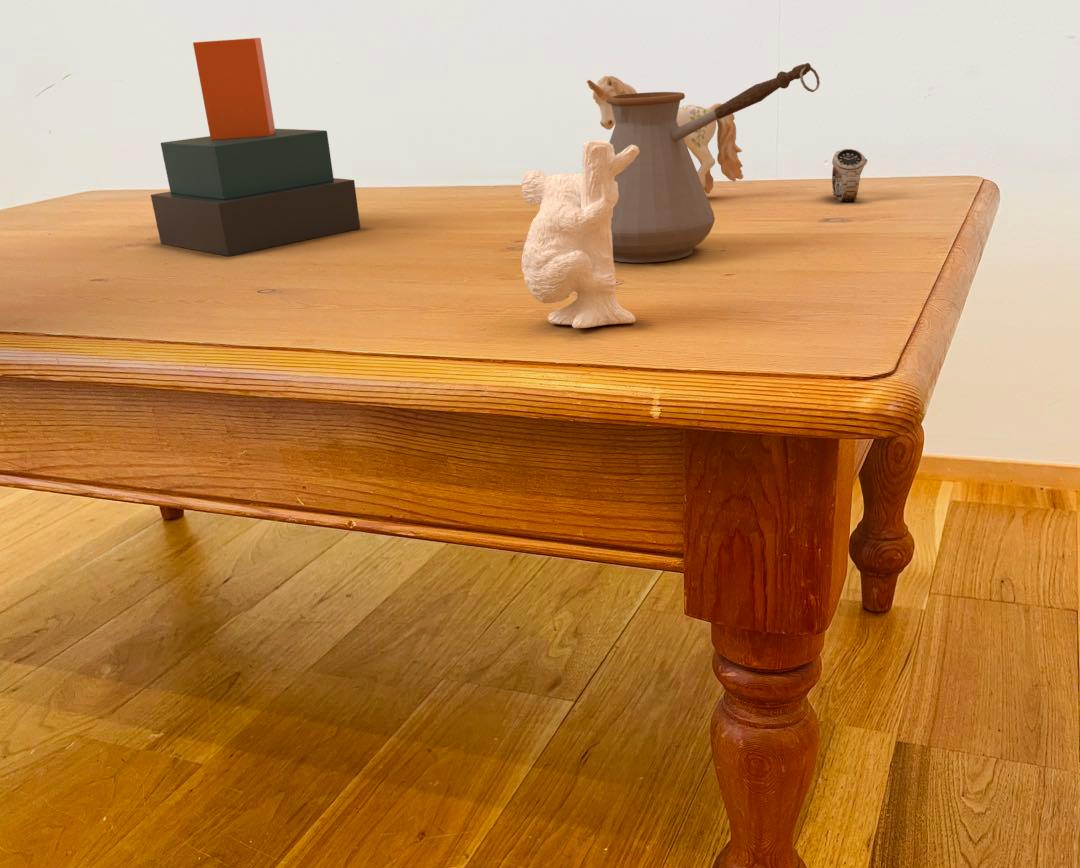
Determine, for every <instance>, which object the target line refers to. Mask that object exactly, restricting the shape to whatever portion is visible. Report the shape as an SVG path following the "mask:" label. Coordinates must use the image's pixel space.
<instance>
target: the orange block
mask: <svg viewBox="0 0 1080 868" xmlns="http://www.w3.org/2000/svg"><path fill="white" fill-rule="evenodd" d="M192 46H193V50H194V51H193V52H194V56H195V61H196V66H197V72H198V78H199V82H200V83H199V84H200V89H201V93H202V94H201V95H202V100H203V106H204V111H205V116H206V122H207V127H208V132H209V136H210V138H211V140H223V139H237V138H250V137H264V136H271V135H273V134H274V133H275V129H276V127H275V121H274V115H273V109H272V102H271V101H272V100H271V95H270V89H269V83H268V76H267V71H266V70H267V69H266V64H265V58H264V52H263V45H262V38H261V37H252V38H250V37H249V38H237V39H223V40H221V39H220V40H208V41H195V42H194V41H193V42H192Z"/></svg>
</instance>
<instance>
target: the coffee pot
mask: <svg viewBox="0 0 1080 868" xmlns="http://www.w3.org/2000/svg"><path fill="white" fill-rule="evenodd" d="M809 72H812V73H813V74H814V77H815V78H816V85H815V88H814V89H812V88H810V87H809V86H808V85H807V84H806V83H805V81H804V76H805V75H807V74H808V73H809ZM799 79H800V83H801V84H802V87H803V88H804V89H805V90H806V91H807V92H811V93H815V92H816V91H817V90H819V87H820V84H821V83H820V76H819V74H818V72H817V71H816V70H815V69H814V68H813V66H812V65H811V64H810V63H809V62H806V63H804V64H803V63H802V64H798V65H796V66H794V67H792V69H791V70H790V71H787V72H786V71H779V72H778V73H777V75H776V77H774V78H772V79H767V80H765V81H763V82H759V83H756V84H754V85H752V86H751V87H749V88H747V89H746V90H744V91H742V92H741V93H738V94H737V95H735V96H734V97H732V98H731V99H729V100H727V101H725V102H723V103H721V104H722V105H721V106H719V107H717V108H716V109H715V110H713V111H711V112H709V113H707V114H705V115H703V116H701V117H699V118H697V119H695V120H693V121H691V122H688V123H686V124H684V125H682V126H680V127H679V126H678V123H677V114H678V109H679V107H680V104H681V101H682V100H684V99H685V98H686V95H685V93H684V92H680V91H679V92H677V91H653V92H651V91H650V92H649V91H648V92H637V93H635V94H625V95H617V96H612V97H608V98H607V103H609V104H611V106H612V110H613V114H614V118H615V124H614V126H613V130H612V134H611V136H610V139H609V141H608V142H609V143H610V144H612V145H613V148H614V153H615V155H617V154H619V153H621V152H622V151H623V150H624V149H626V148H627V147H628V146H630V145H635V146H637V147H638V148H639V154H638V155H637V156H636V157H635V159H634V160H633V162H631V163H630V164H629V165H628V166H627V167H626V168H625V169H624V170H623V171H622V172H620V173H619V174H617V175H616V176H615V179H614V181H616V182H617V183H618V193H619V197H618V201H617V204H616V205H615V206H614V207H613V216H612V218H611V231H612V246H613V262H621V263H622V262H623V263H659V262H668V261H674V260H679V259H682V258H685V257H686V258H687V257H688V256H690V255H692V254H693V252H694V251H693V249H694V248H695V247H697V246H699V245H700V244H701V243H702V242H703V241H704V240H705V239H706V238H707V236H708V235H709V234H710V233H711V231H712V228H713V226H714V224H715V220H716V218H715V217H716V216H715V213H714V211H713V208H712V205H711V202H710V201H709V199H708V196H707V195H708V194H707V193H706V192H705V190H704V188H703V185H702V183H701V180H700V178H699V175H698V173H697V172H698V170H697V168H696V165H695V163H694V161H693V158H692V155H691V152H690V150H689V148H688V147H687V146H686V143H685V141H684V137H686V136H688V135H690V134H692V133H693V132H695V131H697V130H699V129H701V128H702V127H704V126H706V125H708V124H710V123H712V122H713V121H715V120H717V119H721V118H723V117H726V116H728V115H730V114H732V113H733V114H735V113H737V112H739V111H742V110H744V109H747V108H749V107H750V106H753V105H756V104H758V103H760V102H762V101H763V100H765V99H766V98H767V97H769V96H770V95H771V94H773V93H774V92H776V91H777V90H779V89H783V90H784V89H787V88H788V87H789V86H790V84H791V82H793V81H794V80H799Z"/></svg>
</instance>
